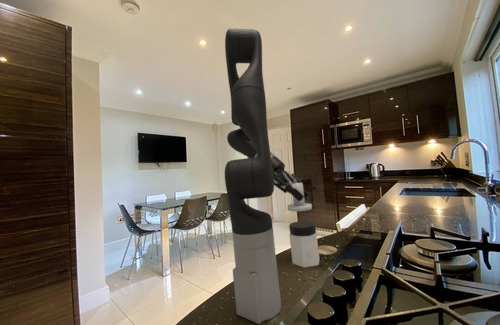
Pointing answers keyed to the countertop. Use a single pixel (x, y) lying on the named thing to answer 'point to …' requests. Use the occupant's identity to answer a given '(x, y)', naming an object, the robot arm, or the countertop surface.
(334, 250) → the disc
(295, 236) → the jar
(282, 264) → the countertop surface
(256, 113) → the robot arm
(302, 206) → the lid
